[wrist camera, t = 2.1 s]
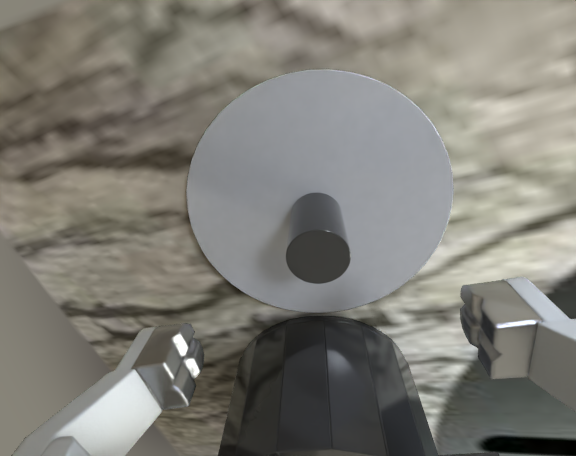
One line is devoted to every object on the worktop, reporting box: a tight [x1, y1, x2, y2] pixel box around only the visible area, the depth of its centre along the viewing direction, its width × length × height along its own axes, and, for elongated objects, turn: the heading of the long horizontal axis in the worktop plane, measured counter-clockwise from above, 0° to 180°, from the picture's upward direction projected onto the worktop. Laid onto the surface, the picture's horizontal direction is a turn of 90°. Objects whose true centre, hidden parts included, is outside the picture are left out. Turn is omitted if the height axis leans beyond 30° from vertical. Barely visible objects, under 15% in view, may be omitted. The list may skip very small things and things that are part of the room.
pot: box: [218, 316, 499, 456], centre depth 18 cm, size 12×17×7 cm
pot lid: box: [186, 69, 453, 313], centre depth 13 cm, size 12×12×5 cm
